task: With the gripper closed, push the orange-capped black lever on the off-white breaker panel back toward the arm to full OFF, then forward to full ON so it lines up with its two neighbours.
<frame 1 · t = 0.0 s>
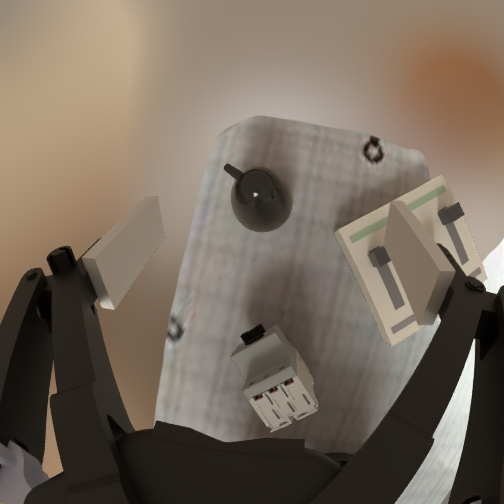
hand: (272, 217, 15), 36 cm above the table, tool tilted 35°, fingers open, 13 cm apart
circuit breaker: (275, 354, 50), on the table
pump dispenser: (264, 207, 52), on the table
breaker panel: (412, 257, 48), on the table
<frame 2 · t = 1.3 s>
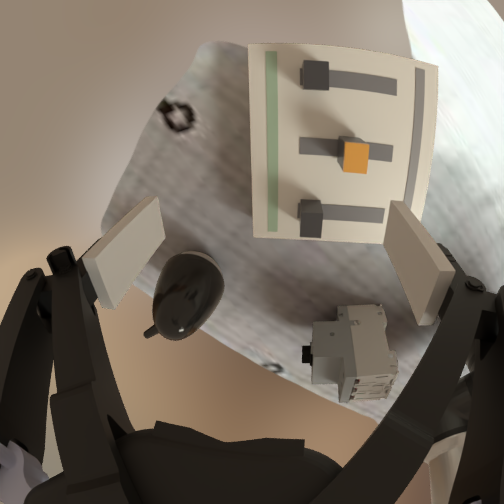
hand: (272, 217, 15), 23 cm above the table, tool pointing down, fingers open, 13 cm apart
circuit breaker: (341, 320, 50), on the table
tripped breaker handle: (352, 153, 27), point 8 cm above the table, slide at 4.0 cm
pump dispenser: (199, 267, 48), on the table
breaker panel: (340, 141, 34), on the table
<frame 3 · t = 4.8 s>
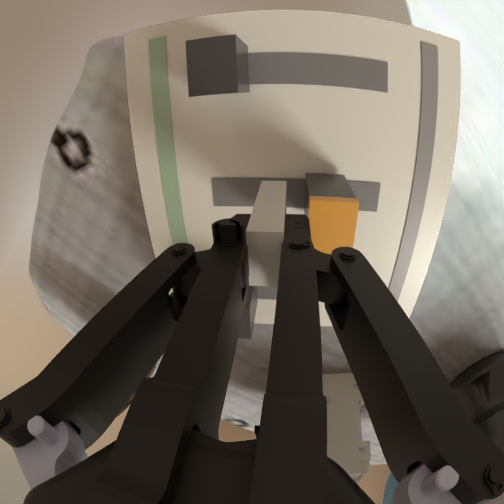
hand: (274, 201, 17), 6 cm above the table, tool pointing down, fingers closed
circuit breaker: (310, 386, 38), on the table
tripped breaker handle: (327, 210, 16), point 8 cm above the table, slide at 2.3 cm, touching gripper
breaker panel: (295, 171, 22), on the table
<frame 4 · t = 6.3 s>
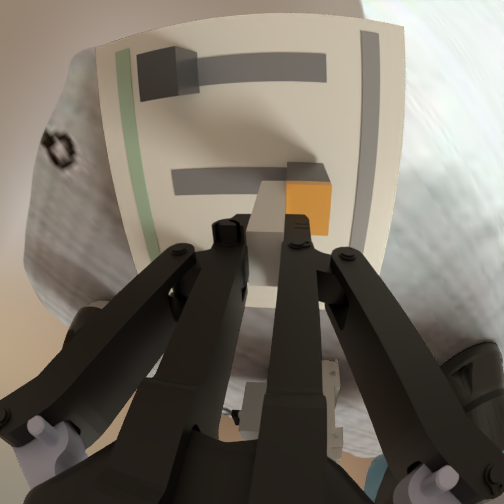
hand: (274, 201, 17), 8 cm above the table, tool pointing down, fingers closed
circuit breaker: (288, 374, 40), on the table
tripped breaker handle: (306, 195, 17), point 8 cm above the table, slide at -0.1 cm
pump dispenser: (117, 315, 38), on the table
breaker panel: (254, 162, 24), on the table
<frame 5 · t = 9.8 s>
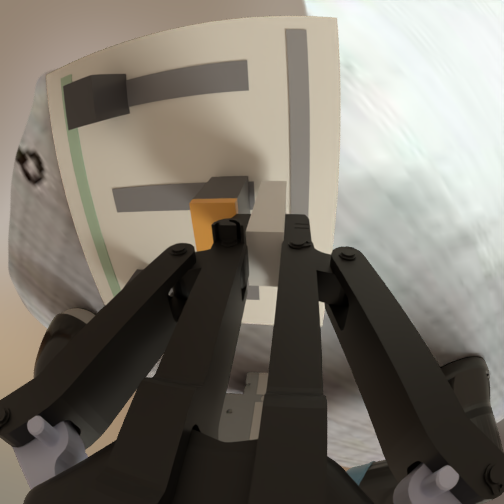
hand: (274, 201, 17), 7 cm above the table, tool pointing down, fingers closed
circuit breaker: (258, 385, 40), on the table
tripped breaker handle: (224, 211, 17), point 8 cm above the table, slide at 0.0 cm, touching gripper
pump dispenser: (92, 322, 38), on the table
breaker panel: (198, 176, 24), on the table
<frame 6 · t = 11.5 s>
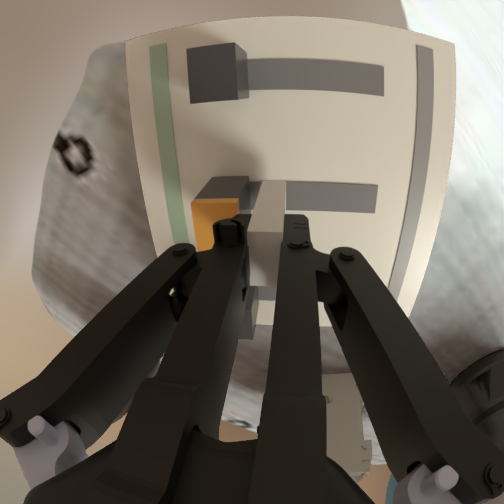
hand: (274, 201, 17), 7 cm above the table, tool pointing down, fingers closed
circuit breaker: (312, 387, 39), on the table
tripped breaker handle: (224, 211, 17), point 8 cm above the table, slide at 8.2 cm, touching gripper
breaker panel: (295, 174, 23), on the table
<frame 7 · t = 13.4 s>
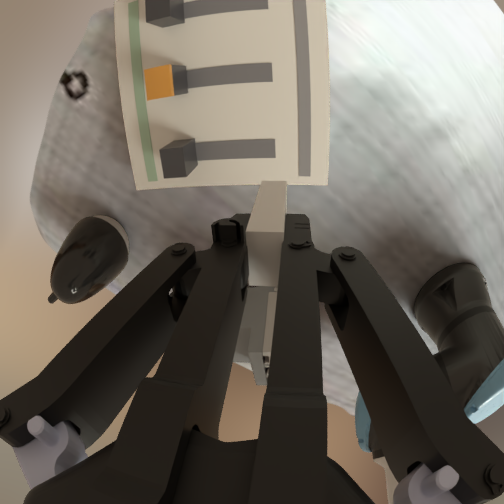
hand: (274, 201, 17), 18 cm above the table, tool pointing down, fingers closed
circuit breaker: (269, 288, 45), on the table
tripped breaker handle: (167, 81, 22), point 8 cm above the table, slide at 8.1 cm
pump dispenser: (111, 233, 43), on the table
breaker panel: (225, 76, 28), on the table
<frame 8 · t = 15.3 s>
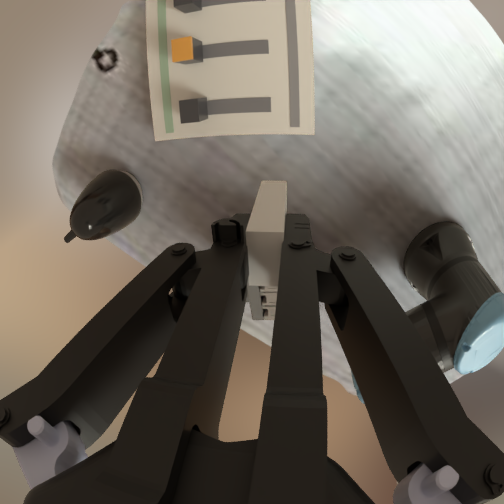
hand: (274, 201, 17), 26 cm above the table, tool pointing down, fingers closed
circuit breaker: (266, 240, 50), on the table
tripped breaker handle: (187, 51, 28), point 8 cm above the table, slide at 8.1 cm
pump dispenser: (126, 190, 48), on the table
breaker panel: (232, 53, 34), on the table
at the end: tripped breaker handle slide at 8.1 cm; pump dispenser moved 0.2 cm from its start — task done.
